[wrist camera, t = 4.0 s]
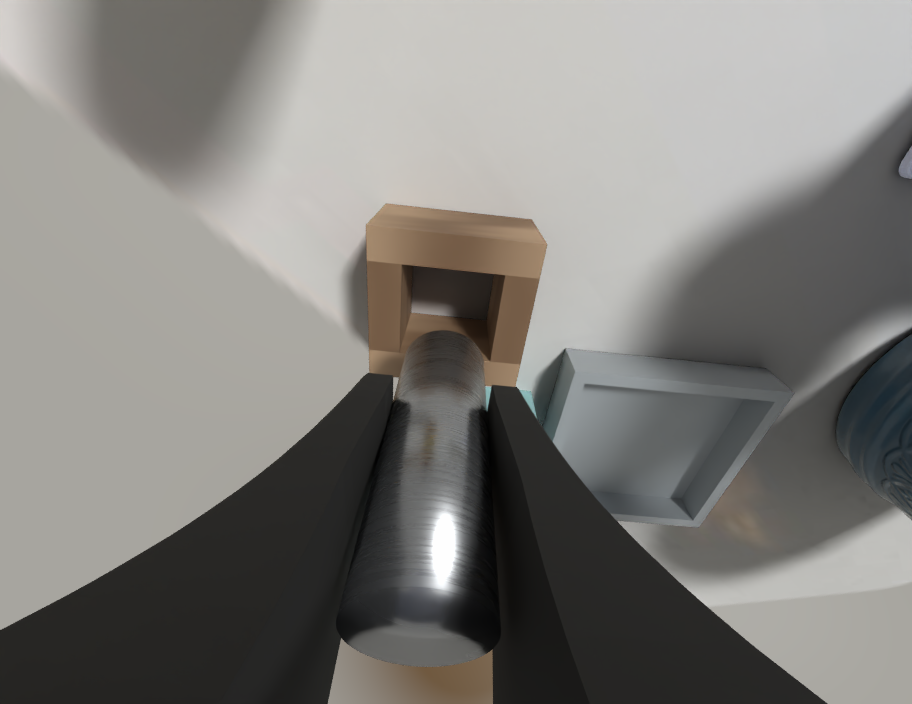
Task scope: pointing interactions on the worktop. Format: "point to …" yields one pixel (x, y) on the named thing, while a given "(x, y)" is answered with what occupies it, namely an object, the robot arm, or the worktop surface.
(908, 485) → the canister
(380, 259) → the brown wooden square frame
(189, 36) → the worktop surface
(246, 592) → the robot arm
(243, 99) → the worktop surface
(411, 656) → the cylinder
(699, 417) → the tray
